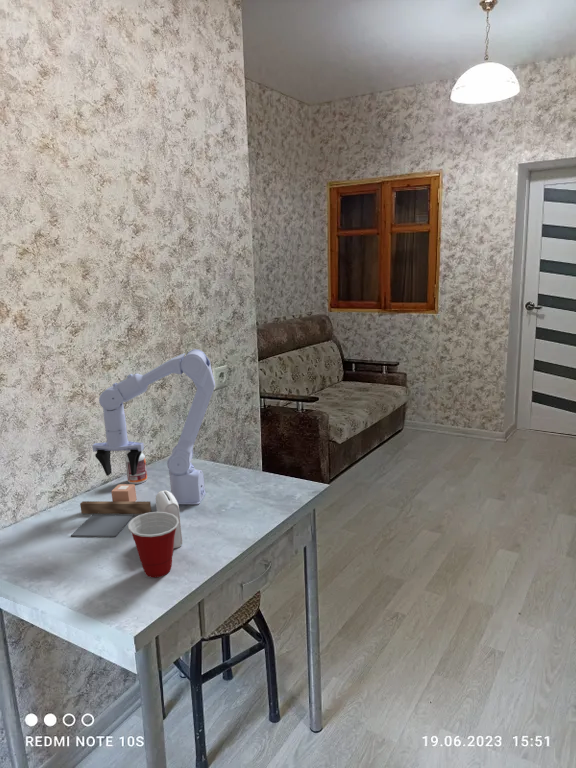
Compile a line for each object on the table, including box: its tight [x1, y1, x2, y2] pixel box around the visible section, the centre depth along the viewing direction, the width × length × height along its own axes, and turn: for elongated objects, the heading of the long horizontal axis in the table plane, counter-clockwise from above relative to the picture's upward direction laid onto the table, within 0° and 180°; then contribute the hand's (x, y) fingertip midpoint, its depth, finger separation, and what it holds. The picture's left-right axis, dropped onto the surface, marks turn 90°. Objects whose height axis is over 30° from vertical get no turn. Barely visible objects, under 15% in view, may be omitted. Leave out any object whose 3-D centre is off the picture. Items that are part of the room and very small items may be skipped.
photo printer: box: [155, 489, 183, 549], centre depth 133 cm, size 10×4×12 cm, turn 26°
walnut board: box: [79, 500, 152, 515], centre depth 151 cm, size 20×2×3 cm, turn 83°
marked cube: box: [110, 483, 137, 501], centre depth 157 cm, size 5×5×5 cm
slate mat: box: [70, 514, 135, 538], centre depth 143 cm, size 12×12×1 cm
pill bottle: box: [124, 449, 148, 485], centre depth 173 cm, size 6×6×11 cm
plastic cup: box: [127, 511, 179, 578], centre depth 119 cm, size 11×11×12 cm
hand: (121, 474), depth 155 cm, fingers open, 7 cm apart
